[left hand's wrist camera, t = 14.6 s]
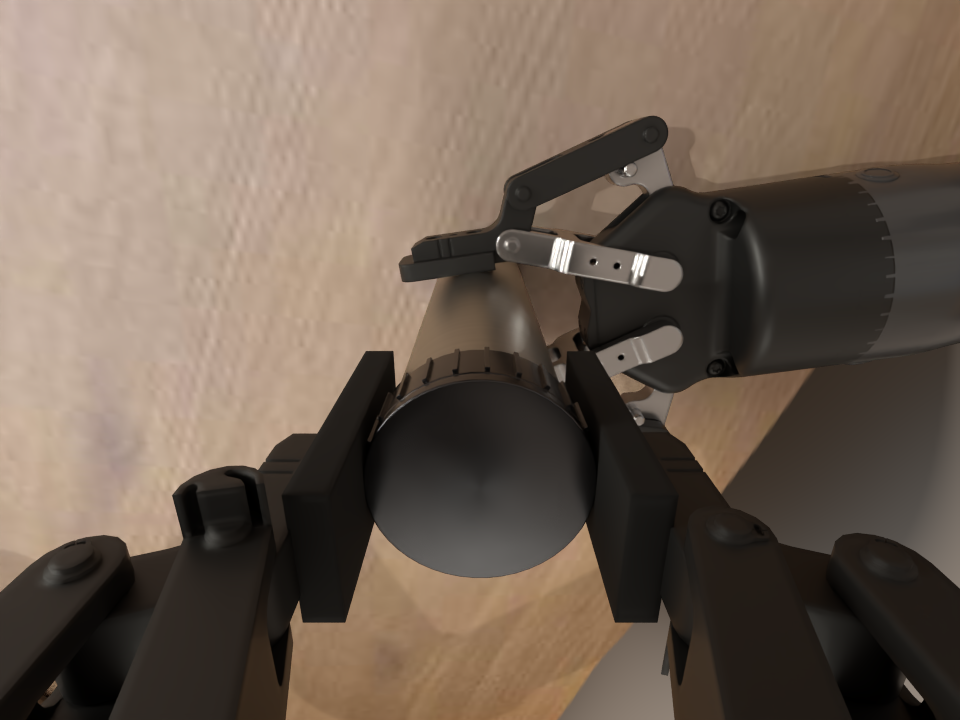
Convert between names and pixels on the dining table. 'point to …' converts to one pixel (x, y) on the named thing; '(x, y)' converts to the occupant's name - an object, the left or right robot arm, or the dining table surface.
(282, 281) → the dining table surface
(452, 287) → the bottle
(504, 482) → the lid
